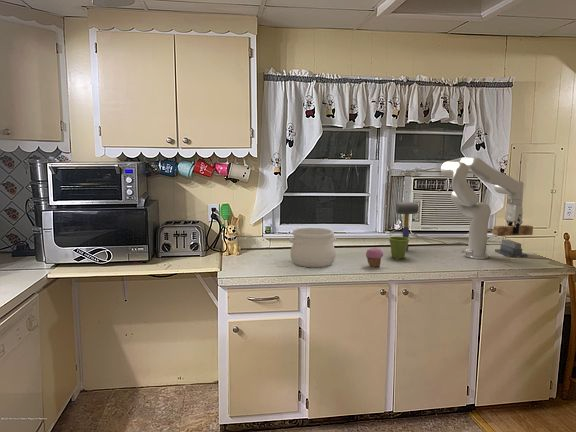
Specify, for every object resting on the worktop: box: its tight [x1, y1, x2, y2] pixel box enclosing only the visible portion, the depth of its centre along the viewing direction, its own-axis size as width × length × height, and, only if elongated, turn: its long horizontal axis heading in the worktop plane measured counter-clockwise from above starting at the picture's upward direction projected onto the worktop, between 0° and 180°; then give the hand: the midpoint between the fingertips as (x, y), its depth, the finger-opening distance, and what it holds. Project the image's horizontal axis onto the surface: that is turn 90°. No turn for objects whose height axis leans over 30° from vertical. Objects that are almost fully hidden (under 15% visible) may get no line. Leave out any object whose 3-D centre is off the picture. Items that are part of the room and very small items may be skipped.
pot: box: [289, 227, 337, 268], centre depth 228 cm, size 26×24×18 cm
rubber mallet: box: [395, 201, 419, 251], centre depth 258 cm, size 12×8×30 cm, turn 94°
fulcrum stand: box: [494, 239, 528, 258], centre depth 251 cm, size 11×14×8 cm
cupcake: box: [365, 247, 384, 268], centre depth 222 cm, size 9×9×10 cm
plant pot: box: [388, 236, 411, 260], centre depth 241 cm, size 12×12×11 cm
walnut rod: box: [492, 224, 534, 237], centre depth 249 cm, size 22×4×5 cm, turn 97°
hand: (512, 232), depth 249 cm, fingers closed on walnut rod, 4 cm apart
